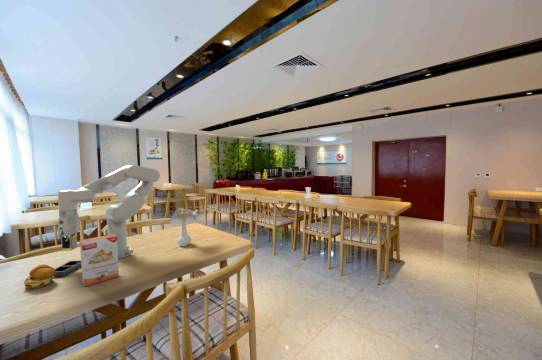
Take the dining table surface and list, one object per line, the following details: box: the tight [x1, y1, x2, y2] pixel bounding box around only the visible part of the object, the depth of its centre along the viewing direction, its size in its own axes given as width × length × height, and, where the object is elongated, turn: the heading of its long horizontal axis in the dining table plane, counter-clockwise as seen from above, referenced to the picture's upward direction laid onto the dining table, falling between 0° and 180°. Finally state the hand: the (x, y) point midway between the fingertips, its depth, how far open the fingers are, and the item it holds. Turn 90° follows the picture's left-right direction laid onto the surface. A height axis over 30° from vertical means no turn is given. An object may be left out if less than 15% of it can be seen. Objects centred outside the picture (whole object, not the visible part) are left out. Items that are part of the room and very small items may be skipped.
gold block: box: [61, 234, 78, 252], centre depth 129 cm, size 5×4×7 cm
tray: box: [54, 259, 81, 278], centre depth 127 cm, size 7×14×2 cm, turn 4°
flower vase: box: [170, 208, 199, 247], centre depth 165 cm, size 13×18×25 cm
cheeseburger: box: [23, 264, 56, 290], centre depth 112 cm, size 10×11×10 cm
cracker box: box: [79, 234, 120, 287], centre depth 116 cm, size 14×6×21 cm, turn 135°
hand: (69, 246), depth 129 cm, fingers closed on gold block, 4 cm apart
